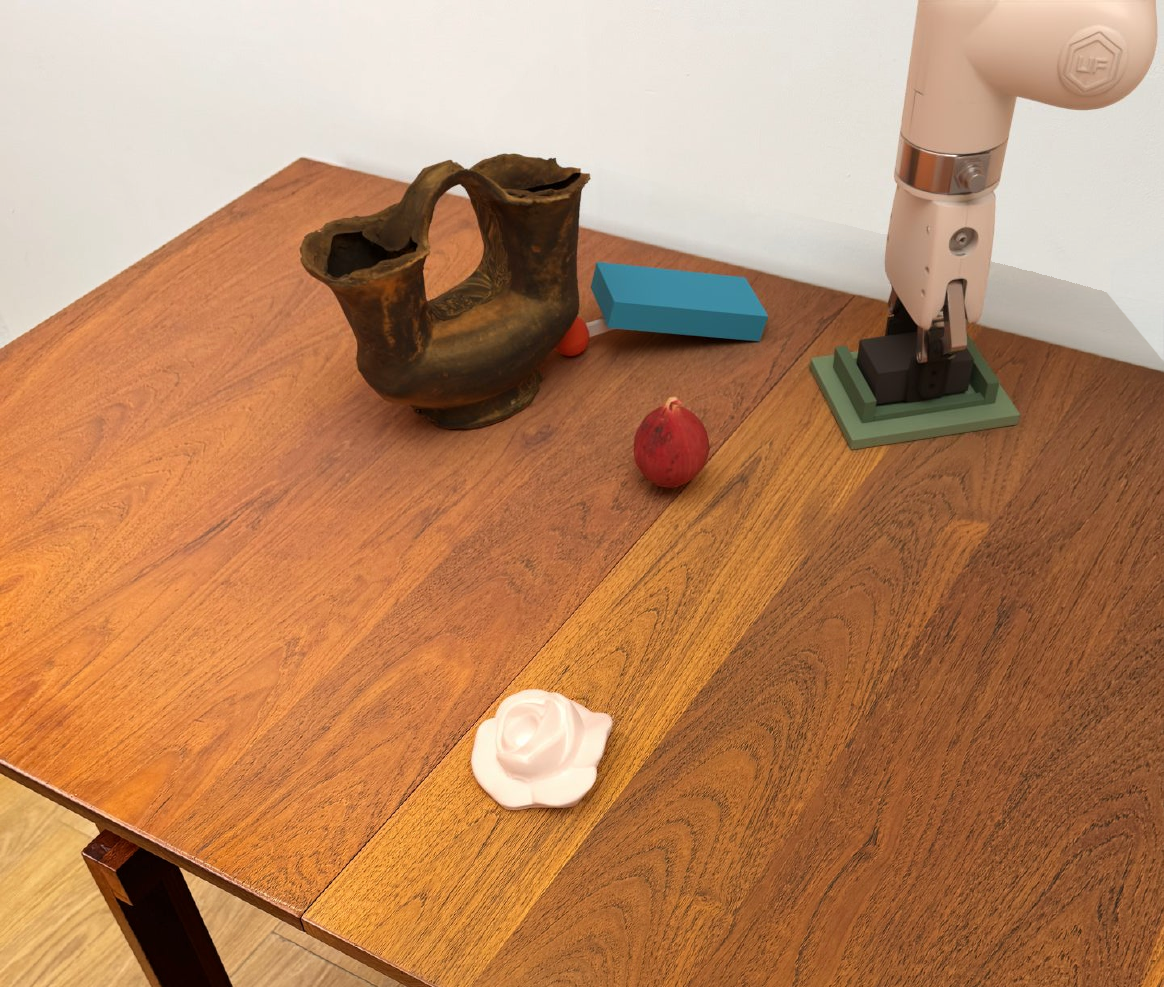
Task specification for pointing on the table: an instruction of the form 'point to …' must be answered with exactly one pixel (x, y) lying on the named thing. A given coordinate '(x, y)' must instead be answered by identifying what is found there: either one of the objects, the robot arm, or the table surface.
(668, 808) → the table surface
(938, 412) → the base pad
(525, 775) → the rose
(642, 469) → the onion
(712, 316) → the lever
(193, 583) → the table surface
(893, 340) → the black block
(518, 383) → the pottery vessel
